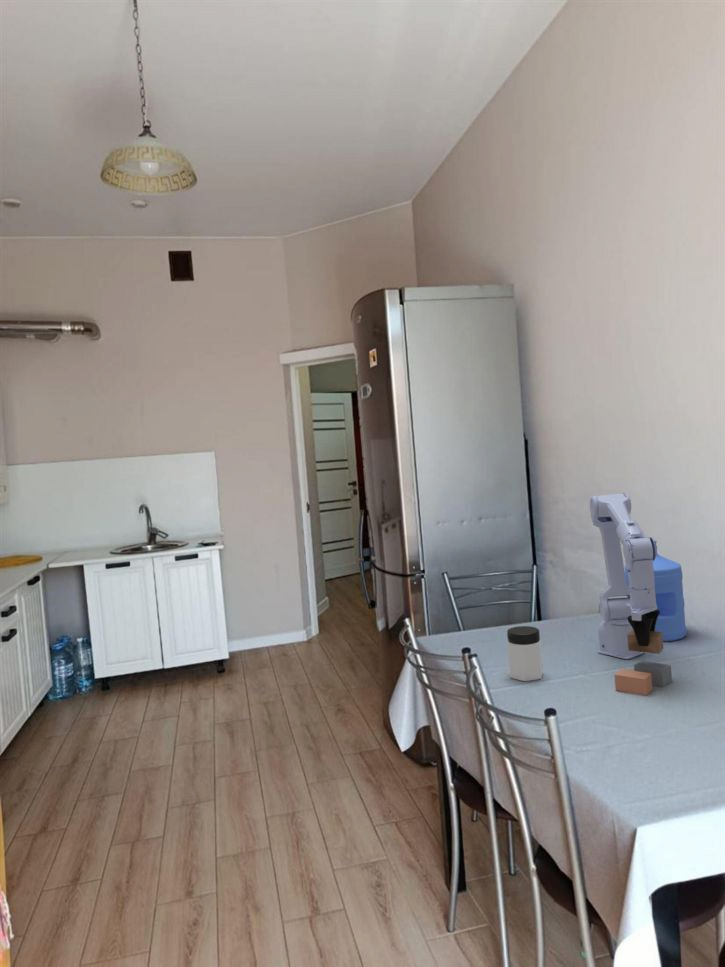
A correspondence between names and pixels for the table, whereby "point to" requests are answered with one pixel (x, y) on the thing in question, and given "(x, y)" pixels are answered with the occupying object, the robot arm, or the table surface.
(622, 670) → the terracotta block
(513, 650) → the jar
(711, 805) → the table surface
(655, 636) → the walnut block
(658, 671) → the grey block
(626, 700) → the table surface
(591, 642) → the table surface
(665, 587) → the water jug
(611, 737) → the table surface
